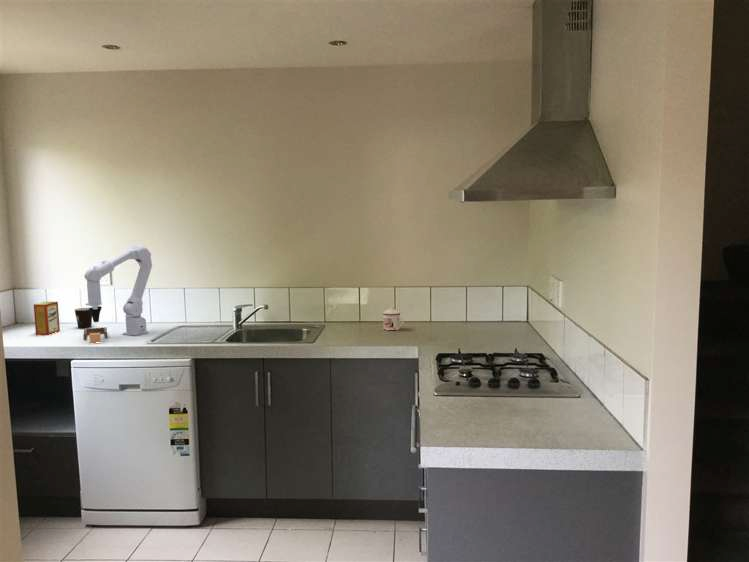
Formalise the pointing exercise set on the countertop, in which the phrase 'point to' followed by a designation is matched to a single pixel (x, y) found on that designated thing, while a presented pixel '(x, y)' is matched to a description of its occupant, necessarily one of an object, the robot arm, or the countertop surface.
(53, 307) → the baking soda box
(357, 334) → the countertop surface
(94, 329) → the wooden frame
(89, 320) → the coffee mug
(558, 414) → the countertop surface
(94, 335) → the terracotta block
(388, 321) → the teacup with lid
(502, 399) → the countertop surface
